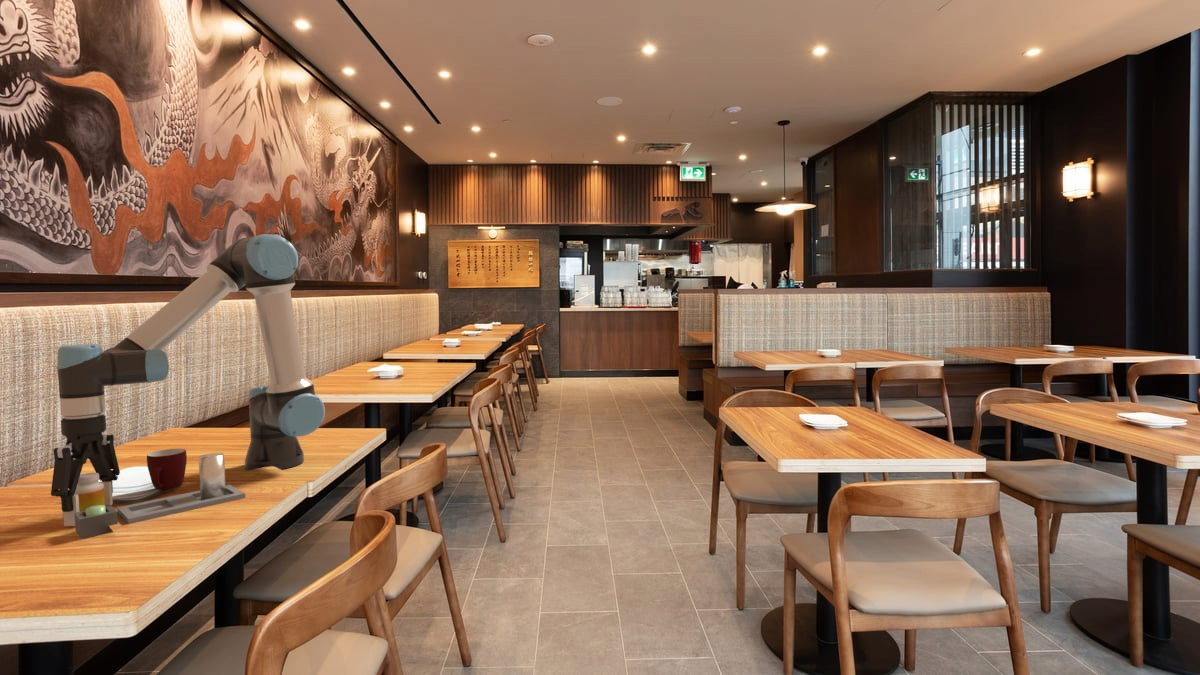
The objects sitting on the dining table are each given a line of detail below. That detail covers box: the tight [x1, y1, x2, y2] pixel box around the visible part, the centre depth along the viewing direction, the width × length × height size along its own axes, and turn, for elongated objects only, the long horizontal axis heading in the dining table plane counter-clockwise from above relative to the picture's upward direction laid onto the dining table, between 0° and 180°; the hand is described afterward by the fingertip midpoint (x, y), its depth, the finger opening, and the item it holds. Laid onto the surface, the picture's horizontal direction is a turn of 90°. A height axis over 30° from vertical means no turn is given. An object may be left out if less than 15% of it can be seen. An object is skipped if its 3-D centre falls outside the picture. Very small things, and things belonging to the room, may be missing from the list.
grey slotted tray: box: [116, 484, 246, 525], centre depth 140 cm, size 22×11×2 cm, turn 137°
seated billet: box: [198, 452, 227, 501], centre depth 144 cm, size 5×5×10 cm
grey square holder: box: [74, 505, 119, 540], centre depth 128 cm, size 6×6×4 cm
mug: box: [146, 448, 188, 491], centre depth 153 cm, size 10×8×10 cm
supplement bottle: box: [74, 472, 106, 512], centre depth 136 cm, size 5×5×10 cm
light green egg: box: [85, 505, 106, 517], centre depth 128 cm, size 3×3×4 cm
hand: (89, 517), depth 136 cm, fingers open, 9 cm apart
